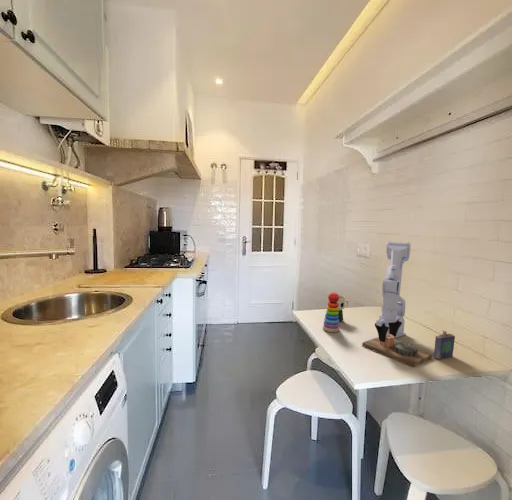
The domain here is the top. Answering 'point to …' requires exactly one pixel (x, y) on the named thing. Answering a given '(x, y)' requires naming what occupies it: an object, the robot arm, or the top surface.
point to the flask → (444, 346)
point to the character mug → (341, 306)
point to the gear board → (399, 352)
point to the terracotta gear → (388, 341)
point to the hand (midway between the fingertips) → (387, 339)
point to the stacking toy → (332, 314)
